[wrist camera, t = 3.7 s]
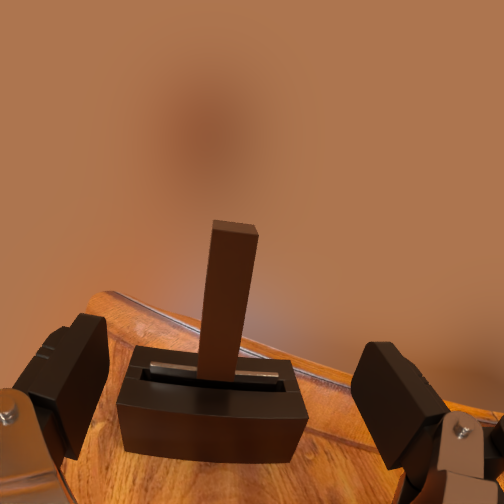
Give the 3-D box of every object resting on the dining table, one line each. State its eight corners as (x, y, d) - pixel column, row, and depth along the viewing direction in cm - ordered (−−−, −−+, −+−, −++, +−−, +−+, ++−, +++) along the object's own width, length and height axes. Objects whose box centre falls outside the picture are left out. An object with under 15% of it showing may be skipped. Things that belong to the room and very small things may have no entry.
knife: (263, 442, 20) (317, 242, 16) (151, 434, 19) (151, 221, 14) (260, 423, 22) (306, 232, 18) (154, 414, 21) (158, 213, 16)
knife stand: (290, 462, 18) (309, 418, 17) (124, 451, 17) (115, 402, 15) (276, 406, 24) (290, 359, 23) (138, 394, 23) (135, 344, 21)
